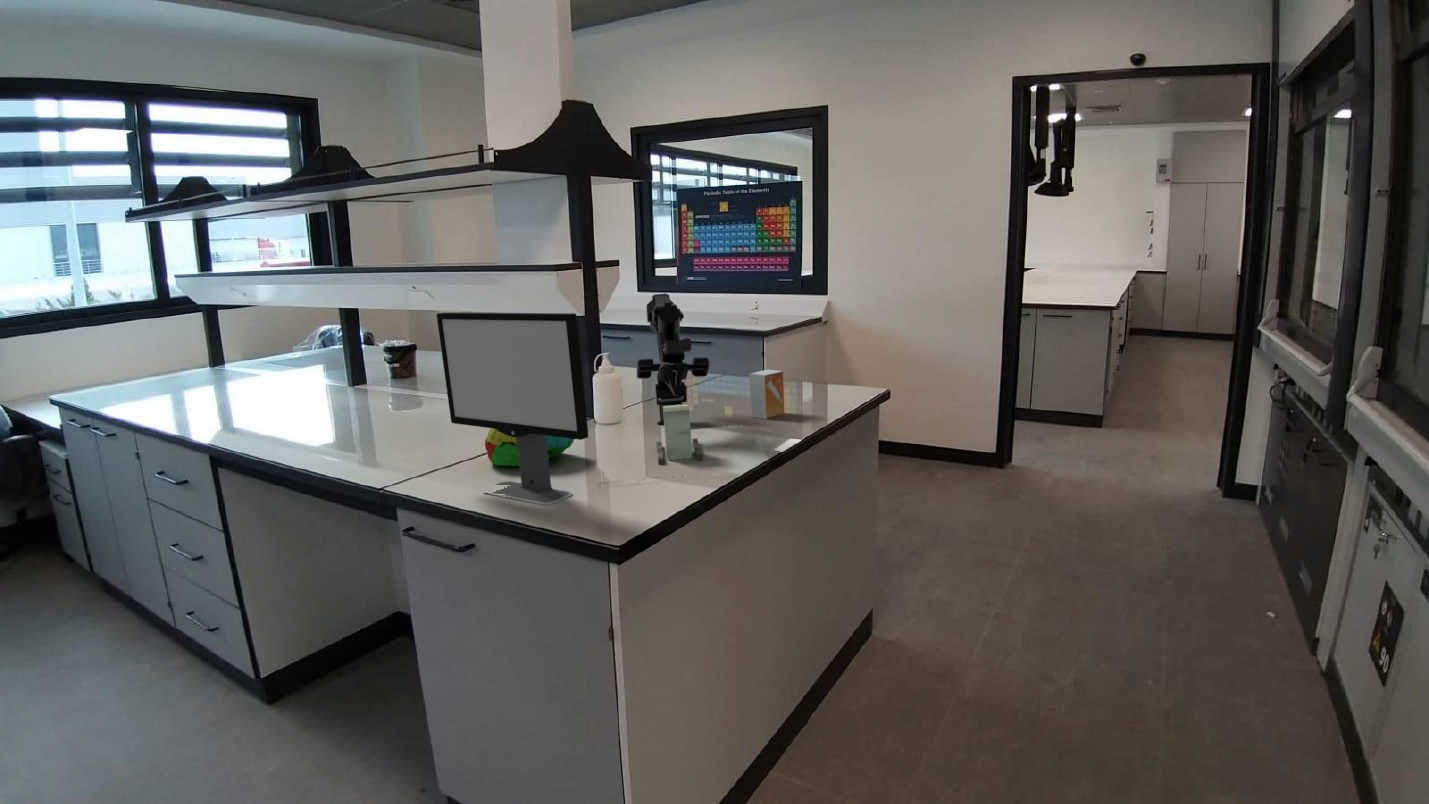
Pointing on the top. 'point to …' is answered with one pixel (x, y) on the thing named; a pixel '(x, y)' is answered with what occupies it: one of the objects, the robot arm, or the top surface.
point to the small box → (767, 393)
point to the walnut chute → (696, 448)
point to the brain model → (505, 447)
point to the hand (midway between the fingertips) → (676, 395)
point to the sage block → (677, 432)
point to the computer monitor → (517, 386)
